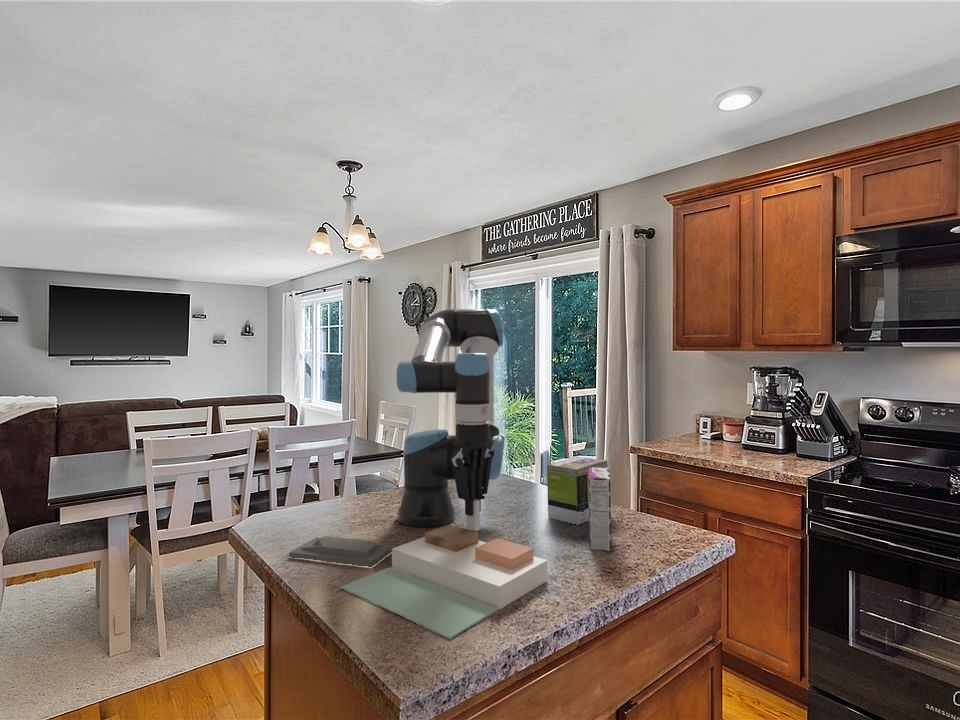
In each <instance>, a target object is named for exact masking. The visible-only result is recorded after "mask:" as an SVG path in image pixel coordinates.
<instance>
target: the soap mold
mask: <svg viewBox="0 0 960 720" xmlns="http://www.w3.org/2000/svg"><path fill="white" fill-rule="evenodd" d="M392 548H394V547H393V545H385V544H378V543H375V542H373V541H371V540H364V539H356V538H355V539H354V538H346V537H338V536H337V537H336V536H328V535H326V536H323V537H318V536H317V537H314V538H313V539H311V540H309V541H307V542H306V543H304V544H301V545H300V546H298V547H296V548H295V549H293V550H290V551H289V553H288V558H289V557H292V558H305V559H313V560H321V561H326V562H333V563H334V562H336V563H343V564H352V565H358V566H368V567H372V566H373V565H375V564H377V563H378V562H379V561H380V560H382V559H383V558H384V557H385V556H387V555H388V554H390V553H391V552H392Z"/></svg>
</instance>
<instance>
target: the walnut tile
mask: <svg viewBox="0 0 960 720" xmlns="http://www.w3.org/2000/svg"><path fill="white" fill-rule="evenodd" d="M424 537H425V542H426V543H429V544H433V545H436V546H439V547H442V548H445V549H448V550H451V551H454V552H458V551H460V550H462V549H465V548H467V547H469V546H472V545H474V544H476V543H479V541H480V540H479V538H480V537H479V532H476V531H474V530H470V529H465V528H462V527H458V526H454V525H450V524H444V525H441V526H438V527H436V528H434V529H431V530H427V532H425V533H424Z"/></svg>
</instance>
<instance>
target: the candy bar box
mask: <svg viewBox="0 0 960 720" xmlns="http://www.w3.org/2000/svg"><path fill="white" fill-rule="evenodd" d="M610 473H611V472H610V468H609V467H608V468H595V467H591V468H589V521H588V532H589V533H588V536H589V539H588V540H589V549H590V550H591V551H599V550H602V551H603V552H611V551H612V499H611V498H612V497H611V495H612V494H611V493H612V492H611V474H610ZM602 551H601V552H602Z"/></svg>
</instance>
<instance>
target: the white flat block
mask: <svg viewBox="0 0 960 720" xmlns="http://www.w3.org/2000/svg"><path fill="white" fill-rule="evenodd" d="M485 543H487V542H485V541H482V540H479V543H476V544H474V545H472V546H469V547H467V548H465V549H462V550H460V551H458V552H454V551H451V550H448V549H445V548H442V547H439V546H436V545H433V544H429V543H426V542H425V536H422V537H419V538H417V539H415V540H412V541H410V542H406V543H403V544H400V545H398V546H396V547H393V548H392V554H391V567H394V568H397V569H399V570H401V571H404V572H407V573H409V574H411V575H413V576H415V577H418V578H420V579H423V580H426V581H428V582H431V583H433V584H436V585H439V586H441V587H444V588H446V589H449V590H452V591H454V592H457V593H459V594H462V595H465V596H467V597H470V598H472V599H475V600H478V601H480V602H483V603H485V604H488V605H491V606H493V607H496V608H498V611H499V610H502V609H504V608H505V607H507V606H508V605H510V604H511V603H513V602H515V601H517V600H518V599H519V598H522V597H524V596H525V595H526V594H528V593H529V592H531V591H533V590H535V589H536V588H538V587H540V586H541V585H543V584H545V583H546V582H547V581H548V560H547V559H544V558H541V557H537V556H534V559H532V560H530V561H528V562H526V563H524V564H523V565H521V566H519V567H517V568H515V569H513V570H511V569H508V568H505V567H501V566H498V565H495V564H492V563H489V562H486V561H483V560H479V559H476V558H475V548H476V547H478V546H481V545H483V544H485Z"/></svg>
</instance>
